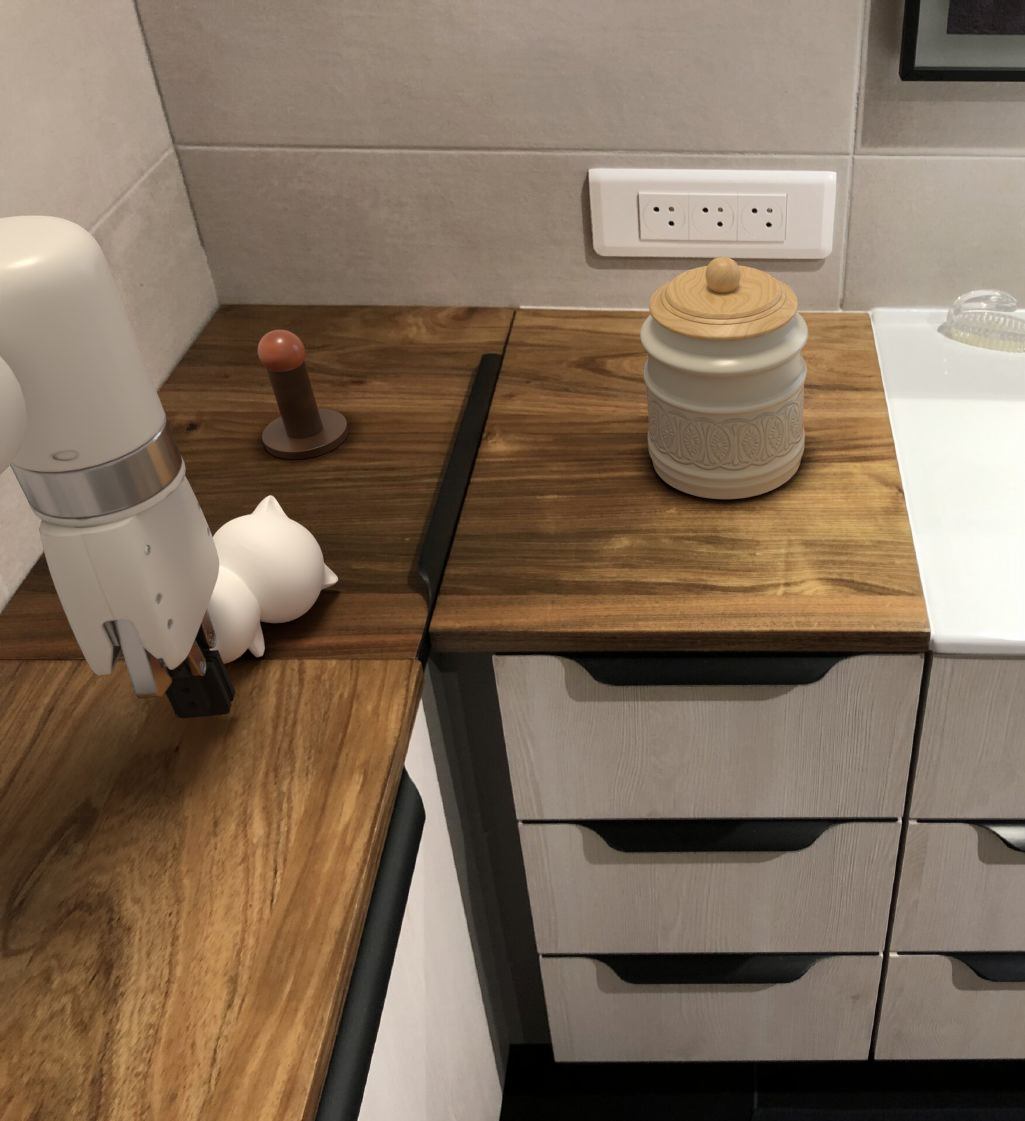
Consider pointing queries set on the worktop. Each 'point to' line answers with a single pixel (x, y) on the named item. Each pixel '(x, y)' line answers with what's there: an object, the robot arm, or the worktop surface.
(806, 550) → the worktop surface
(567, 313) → the worktop surface
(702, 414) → the jar
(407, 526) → the worktop surface
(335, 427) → the marker post
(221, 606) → the cat figurine
